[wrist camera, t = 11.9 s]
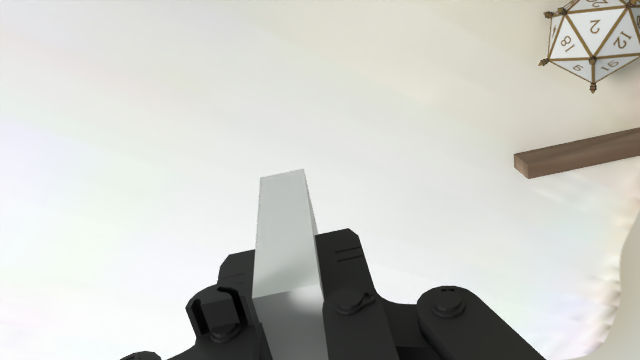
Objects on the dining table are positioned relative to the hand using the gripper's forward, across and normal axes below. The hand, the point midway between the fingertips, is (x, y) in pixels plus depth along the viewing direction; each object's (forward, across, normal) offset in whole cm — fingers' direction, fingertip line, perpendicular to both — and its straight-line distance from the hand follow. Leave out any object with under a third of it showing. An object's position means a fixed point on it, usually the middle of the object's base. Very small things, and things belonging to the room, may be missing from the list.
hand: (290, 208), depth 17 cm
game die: (+29, +29, -4) cm, 41 cm away
